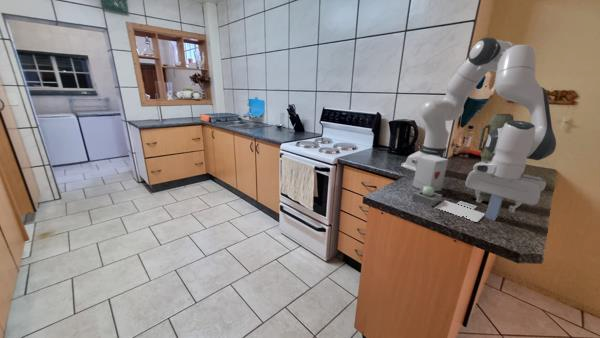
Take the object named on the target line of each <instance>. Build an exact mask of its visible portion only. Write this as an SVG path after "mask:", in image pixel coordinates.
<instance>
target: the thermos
mask: <svg viewBox="0 0 600 338" xmlns="http://www.w3.org/2000/svg"><path fill="white" fill-rule="evenodd" d="M509 121H515V120H514V115H513V114H511V113H496V114H493V115H492V117H491V118H490V120H489V122H488V124H487V125H484V126H483V127H482V128H481V130H480V134H479V139H478V140H479V141H478V146H477V150H478V151H480V157H481V158H480V159H481V160H480V162H489V161H492V158H493V157H494V155H495V154H493V153H490V152H489V151H488V150H487V149H486V148H485V143H486V140H487V136H488V133H490V132H491V131H493V130H494V129H496V128H497V129H498V128H502V127H503V126H504V124H505V123H506V122H509ZM486 129H487V136H486V138H485V140H484V137H485V132H486ZM483 141H484V142H483ZM491 195H492V194H490V193H486V192H482V191H481V192H480V196H481V197H483V199H482V202H483V201H484V202H488V203H489V201H490V198H491ZM472 198H474V199H476V200H477V196H476V194H475V189H473V193H472Z"/></svg>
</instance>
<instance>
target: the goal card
mask: <svg viewBox="0 0 600 338" xmlns="http://www.w3.org/2000/svg"><path fill="white" fill-rule="evenodd" d="M456 204H457V205H458V204H459V205H460V206H461V205H462V206H463V207H464V206H465V207H466V208H467V207H468V208H469V209H470V208H471V209H472V210H476V209H477V208H478V206H477V205H475V204H471V203H468V202H465V201H462V200H460V201H458V202H457V203H456Z"/></svg>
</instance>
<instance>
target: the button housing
mask: <svg viewBox="0 0 600 338" xmlns="http://www.w3.org/2000/svg"><path fill="white" fill-rule="evenodd" d="M422 192H423V189H419V190H417V191H415V192H414V193H413V194H412V199H414V200H416V201H419V202H421V203H420V204H422V203H424V204H423V205H425V204H427V205H430V206H433V207H435V206H436V205H437V203H438V204H440V203H441V201H442V196H443V194H439V193H437V192H434V193H433V197H432V198H430V197H427V196H424V195H422ZM412 199H411V200H412ZM414 200H413V201H414ZM416 201H415V202H416ZM419 202H418V203H419ZM435 204H436V205H435ZM427 205H426V206H427ZM430 206H429V207H430Z"/></svg>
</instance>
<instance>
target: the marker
mask: <svg viewBox="0 0 600 338" xmlns="http://www.w3.org/2000/svg"><path fill="white" fill-rule="evenodd" d="M504 199H505V198H504V197H500V196H497V195H493V194H492V195H491V198H490V201H489V202H488V205H487V208H486V212H485V213H484V214H485V215H484V218H485V217H487V218H486V219H488V218H489V219H488V220H491V219H492V220H491V221H494V220H495V221H496V220H497V219H498V216H499V213H500V210H501V206H502V204H503V201H504ZM496 218H497V219H496Z"/></svg>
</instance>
